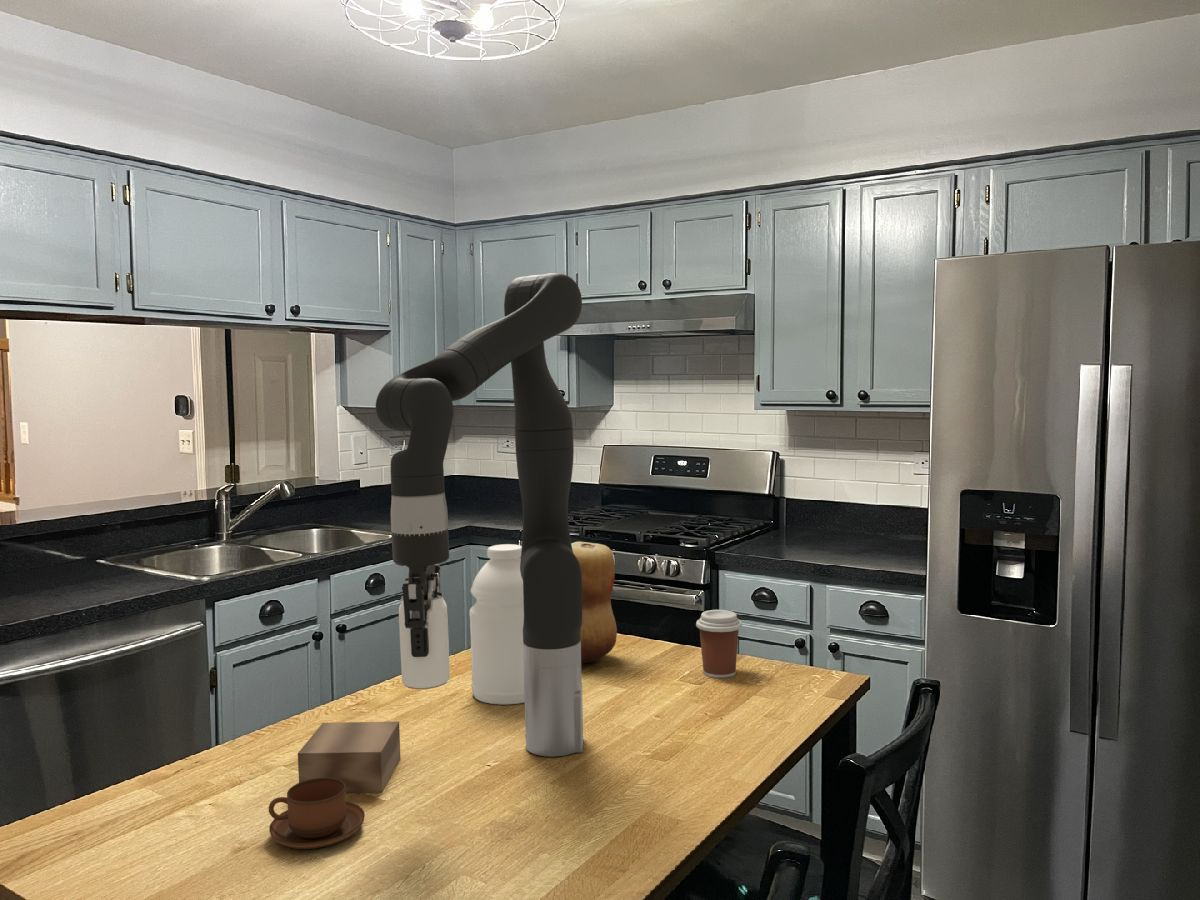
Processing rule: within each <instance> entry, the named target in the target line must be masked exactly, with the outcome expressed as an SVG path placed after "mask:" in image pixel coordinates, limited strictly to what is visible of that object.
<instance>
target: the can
mask: <svg viewBox="0 0 1200 900" xmlns="http://www.w3.org/2000/svg"><path fill="white" fill-rule="evenodd" d="M427 601H428V600H424V604H426V603H427ZM413 617H414V619H415V618H420V614H419V611H415V612H414V613H413ZM428 617H429V619H428V622H429V626H428V640H429V654H428V655H427V656H426V657H413V656H412V654H411V634H410V629H409V628H406V627H405V616H404V602H403V595H402V596H401V602H400V605H399V608H398V625H399V626H398V628H399V630H398V631H399V647H400V648H399V649H400V666H401V667H400V668H401V669H400V670H401V671H400V672H401V682H402V684H403V686H404V687H407V688H408V689H413V690H430V689H435V688H439V687H442V686H444V685H446V683H447V682H448V681H449V680H450V677H451V673H450V645H449V644H450V643H449V640H450V639H449V624H448V623H449V622H448V621H449V620H448V606H447V602H446V601H445V599H444V593H443V592H441V591H440V592H438V595H434V593H433V609H432V611H430V612H429V613H428Z"/></svg>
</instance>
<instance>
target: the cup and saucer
mask: <svg viewBox="0 0 1200 900" xmlns="http://www.w3.org/2000/svg"><path fill="white" fill-rule="evenodd" d="M346 799H347V798H346V793H345V784H344V782H342V781H341V780H339V779H335V778H315V779H310V780H306V781H303V782H300V783H299V782H298V783H296V784H294V785H293V786H291V787H289V789H288V790H287V792H286V796H279V797H275V798H274V799H272V800H271V801H270V802H269V805H268V814H269V815H270V816H271V818H273V820H272V821H271V823H270V825H269V834H270V837H271V838H272V839H273V840H274V841H275V842H277V843H278V844H280V845H281V846H283V847H286V848H287V847H288V848H291V849H297V850H298V849H299V850H300V849H301V850H303V849H304V850H309V849H311V850H312V849H318V848H325V847H328V846H331V845H334V844H337V843H339V842H342V841H344V840H346V839H348V838H349V837H351V836H352V835H354V834H355V833H356V832H357V831H358V830H359V829H360V828H361V827H362V825H363V824H364V821H365V814H366V813H365V811H364V809H363V807H361V806H360V805H358V804H356V803H354V802H351V801H347V800H346ZM279 803H282V804H286V805H287V809H286V810H285V811H283V812H282V813H281V812H280V813H279V814H278V813H277V812H275V806H276V805H277V804H279Z"/></svg>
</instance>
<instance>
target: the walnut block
mask: <svg viewBox="0 0 1200 900" xmlns="http://www.w3.org/2000/svg"><path fill="white" fill-rule="evenodd" d="M311 735H312V736H311V737H310V738H308V740H307V741H306V742H305V744H304V745H303V746H302V747H301V748H300V749H299V751H298V752H297V766H298V767H297V769H298V783H300V782H303V781H306V780H310V779H315V778H335V779H339V780H341V781H342V782H344V784H345V794H353V793H354V794H361V793H363V794H364V793H365V794H366V793H367V794H368V793H371V794H372V793H383V792H384V790H385V789H386V786H387V785H388V783H389V781H390V779H391V777H392V775H393V773H394V772H395V770H396V768H397V766H398V765H399V762H400V760H401V758H402V757H401V734H400V721H357V722H356V721H354V722H353V721H348V722H347V721H346V722H345V721H344V722H341V721H338V722H322V723H321V724H320V726H319V727H317V729H316V730H315V732H314V733H312V734H311Z"/></svg>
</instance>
